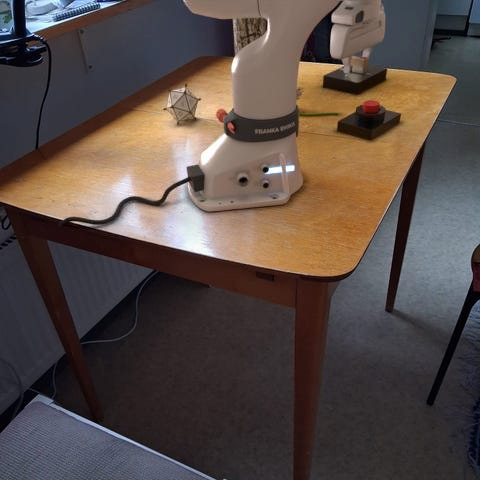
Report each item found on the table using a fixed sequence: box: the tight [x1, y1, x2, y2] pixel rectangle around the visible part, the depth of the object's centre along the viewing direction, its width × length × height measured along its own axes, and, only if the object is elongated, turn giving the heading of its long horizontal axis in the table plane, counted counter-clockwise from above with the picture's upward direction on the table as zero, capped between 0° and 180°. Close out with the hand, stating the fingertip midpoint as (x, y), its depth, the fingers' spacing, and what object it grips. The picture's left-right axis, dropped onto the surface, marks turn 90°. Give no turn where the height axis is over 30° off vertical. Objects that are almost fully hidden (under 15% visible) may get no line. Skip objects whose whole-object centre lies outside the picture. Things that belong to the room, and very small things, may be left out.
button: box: [362, 99, 381, 113], centre depth 107 cm, size 4×4×2 cm
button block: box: [336, 104, 402, 141], centre depth 109 cm, size 12×9×4 cm
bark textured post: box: [232, 18, 267, 57], centre depth 107 cm, size 7×7×25 cm
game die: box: [162, 82, 202, 126], centre depth 117 cm, size 9×8×10 cm
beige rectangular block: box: [350, 55, 368, 74], centre depth 129 cm, size 6×2×4 cm, turn 46°
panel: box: [322, 64, 388, 96], centre depth 131 cm, size 14×11×3 cm
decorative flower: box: [296, 87, 339, 117], centre depth 118 cm, size 8×6×15 cm
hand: (355, 68), depth 129 cm, fingers open, 6 cm apart
